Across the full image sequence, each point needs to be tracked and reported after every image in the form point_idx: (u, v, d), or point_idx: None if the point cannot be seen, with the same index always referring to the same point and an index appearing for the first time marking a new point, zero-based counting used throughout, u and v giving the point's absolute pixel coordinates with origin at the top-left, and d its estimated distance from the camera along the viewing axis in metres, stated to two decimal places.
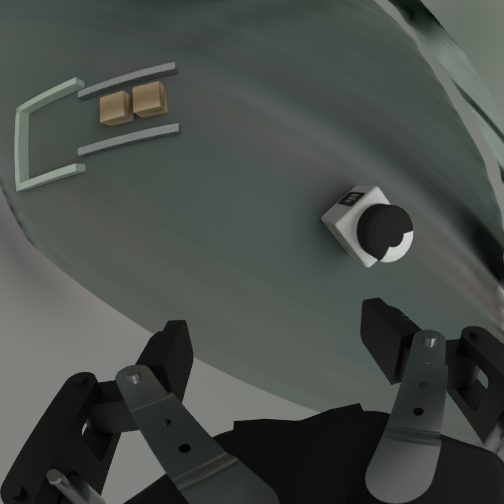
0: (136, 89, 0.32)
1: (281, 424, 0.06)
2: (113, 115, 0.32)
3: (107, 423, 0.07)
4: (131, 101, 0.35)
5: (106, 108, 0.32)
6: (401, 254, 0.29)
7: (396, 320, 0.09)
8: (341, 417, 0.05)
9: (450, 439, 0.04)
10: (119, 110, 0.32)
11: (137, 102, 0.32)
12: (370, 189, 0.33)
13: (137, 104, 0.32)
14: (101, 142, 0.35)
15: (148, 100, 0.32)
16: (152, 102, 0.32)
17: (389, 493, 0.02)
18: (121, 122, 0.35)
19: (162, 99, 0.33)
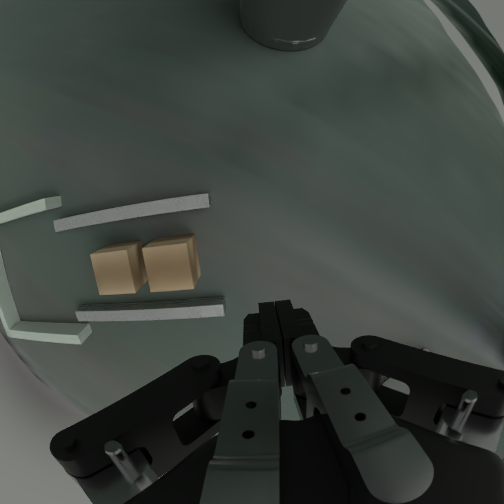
0: (149, 252, 0.22)
1: (282, 424, 0.06)
2: (119, 289, 0.23)
3: None
4: (140, 251, 0.26)
5: (104, 275, 0.23)
6: None
7: (290, 323, 0.10)
8: None
9: (450, 439, 0.04)
10: (127, 283, 0.23)
11: (155, 275, 0.23)
12: None
13: (155, 279, 0.23)
14: (107, 312, 0.26)
15: (173, 276, 0.23)
16: (180, 280, 0.23)
17: (389, 493, 0.02)
18: None
19: (194, 266, 0.24)
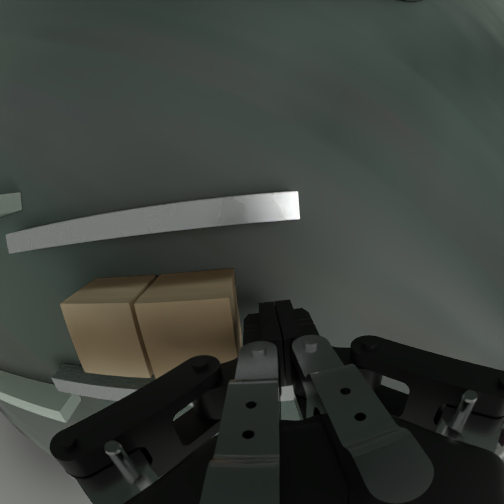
0: (148, 313, 0.11)
1: (282, 424, 0.06)
2: (119, 369, 0.12)
3: None
4: None
5: (89, 342, 0.11)
6: None
7: (290, 323, 0.10)
8: None
9: (450, 439, 0.04)
10: (132, 362, 0.11)
11: (163, 355, 0.11)
12: None
13: (163, 361, 0.11)
14: (102, 388, 0.14)
15: None
16: None
17: (389, 493, 0.02)
18: None
19: (237, 334, 0.13)
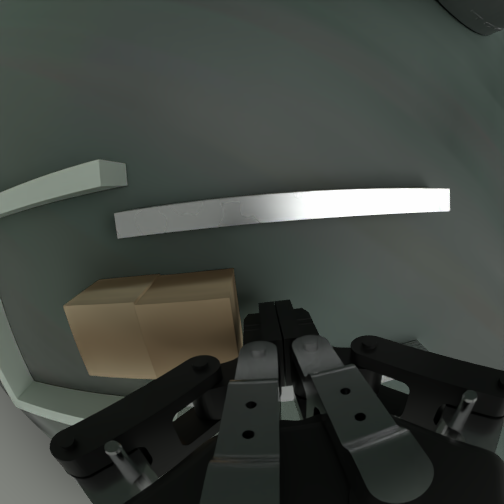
0: (149, 314, 0.11)
1: (282, 424, 0.06)
2: (124, 371, 0.11)
3: None
4: None
5: (93, 345, 0.11)
6: None
7: (290, 323, 0.10)
8: None
9: (450, 439, 0.04)
10: (138, 363, 0.11)
11: (164, 355, 0.11)
12: None
13: (165, 362, 0.11)
14: None
15: None
16: None
17: (389, 493, 0.02)
18: None
19: (238, 334, 0.13)
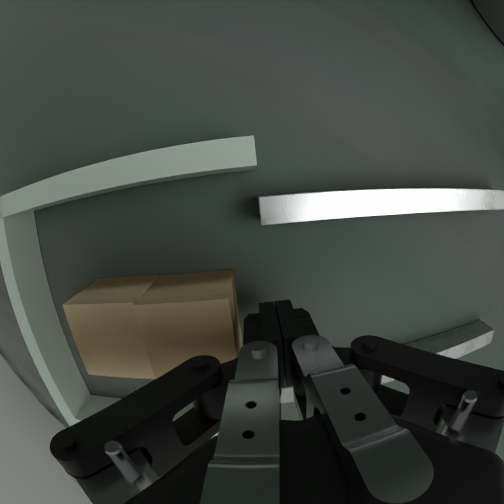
0: (148, 314, 0.11)
1: (282, 424, 0.06)
2: (123, 371, 0.11)
3: None
4: None
5: (92, 344, 0.11)
6: None
7: (290, 323, 0.10)
8: None
9: (450, 439, 0.04)
10: (137, 363, 0.11)
11: (163, 355, 0.11)
12: None
13: (164, 363, 0.11)
14: None
15: None
16: None
17: (389, 493, 0.02)
18: None
19: (237, 335, 0.13)
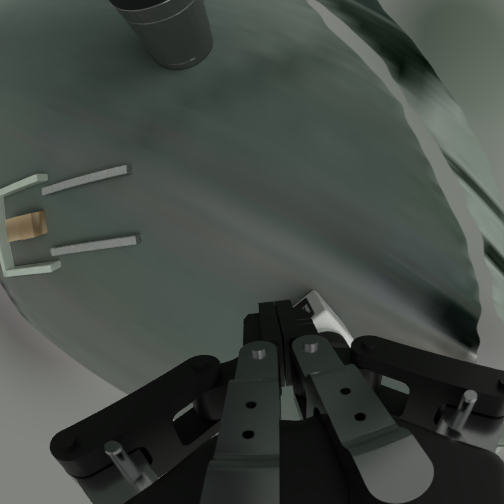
0: (19, 219, 0.34)
1: (282, 424, 0.06)
2: (14, 238, 0.35)
3: None
4: None
5: (9, 230, 0.34)
6: None
7: (290, 323, 0.10)
8: None
9: (450, 439, 0.04)
10: (17, 234, 0.34)
11: (21, 231, 0.34)
12: (319, 311, 0.35)
13: (21, 233, 0.34)
14: (69, 247, 0.37)
15: (27, 230, 0.34)
16: (29, 233, 0.35)
17: (389, 493, 0.02)
18: None
19: (38, 226, 0.36)
